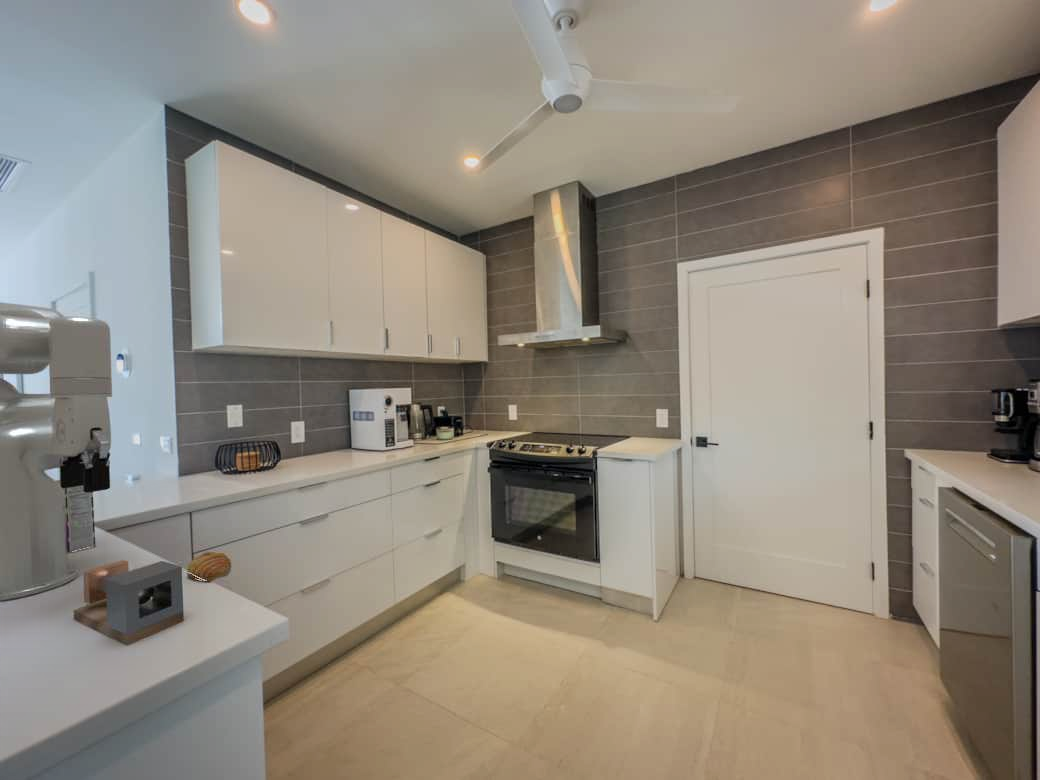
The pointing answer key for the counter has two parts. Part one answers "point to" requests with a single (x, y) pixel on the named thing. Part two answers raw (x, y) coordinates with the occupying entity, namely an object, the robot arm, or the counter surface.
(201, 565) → the pastry
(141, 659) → the counter surface
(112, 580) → the shaft frame
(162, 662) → the counter surface
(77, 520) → the candy bar box
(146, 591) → the shaft
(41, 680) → the counter surface
